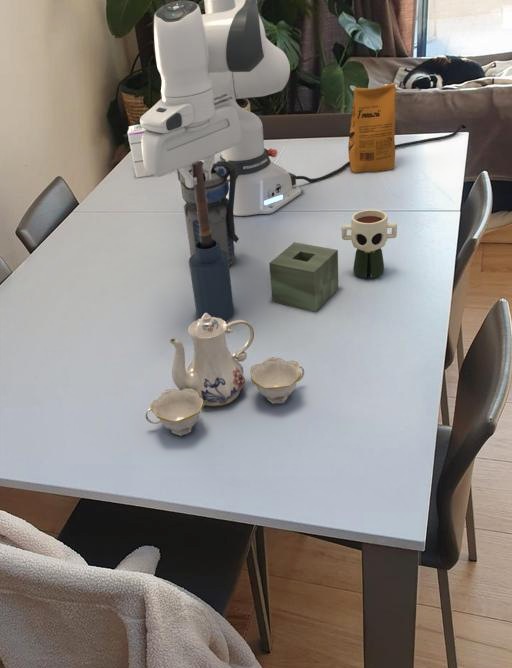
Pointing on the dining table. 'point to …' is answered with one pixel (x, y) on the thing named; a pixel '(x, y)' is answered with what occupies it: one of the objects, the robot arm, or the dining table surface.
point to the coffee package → (372, 129)
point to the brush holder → (304, 276)
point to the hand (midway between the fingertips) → (198, 183)
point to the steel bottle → (211, 282)
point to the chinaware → (217, 376)
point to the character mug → (369, 240)
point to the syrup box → (137, 149)
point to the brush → (202, 206)
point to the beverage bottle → (213, 208)
